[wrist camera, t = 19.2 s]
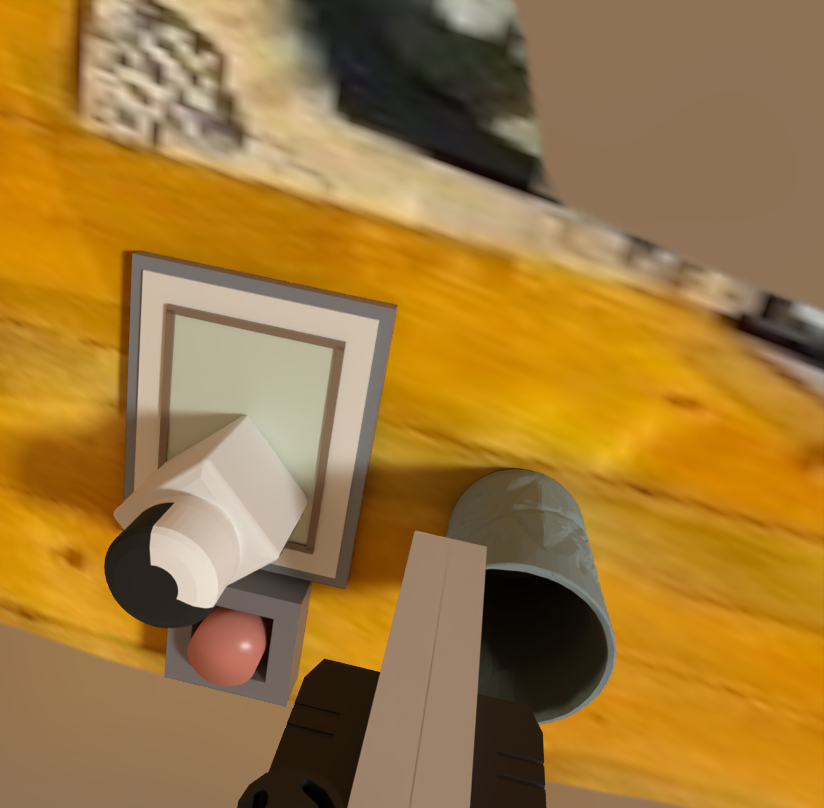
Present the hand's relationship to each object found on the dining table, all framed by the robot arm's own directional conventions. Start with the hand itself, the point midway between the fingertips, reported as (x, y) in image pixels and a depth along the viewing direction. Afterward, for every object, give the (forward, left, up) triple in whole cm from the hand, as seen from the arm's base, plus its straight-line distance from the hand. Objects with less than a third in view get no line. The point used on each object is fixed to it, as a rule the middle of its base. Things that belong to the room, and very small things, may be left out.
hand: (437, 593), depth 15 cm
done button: (-12, -27, -29) cm, 41 cm away
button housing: (-12, -27, -29) cm, 42 cm away
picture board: (-13, -12, -29) cm, 34 cm away
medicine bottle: (-13, -15, -28) cm, 35 cm away
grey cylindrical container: (+5, -15, -30) cm, 34 cm away
